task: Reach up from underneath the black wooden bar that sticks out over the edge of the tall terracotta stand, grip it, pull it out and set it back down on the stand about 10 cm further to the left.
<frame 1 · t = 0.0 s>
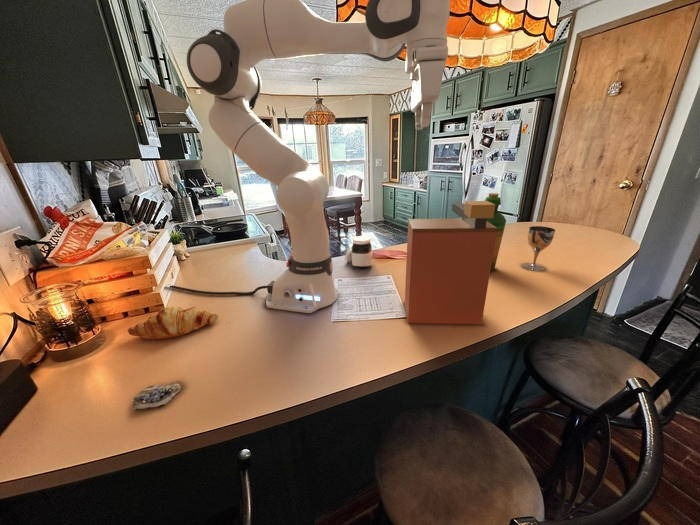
hand: (421, 128, 68), 48 cm above the worktop, tool pointing down, fingers open, 8 cm apart
stand: (440, 313, 78), on the worktop
spread jar: (358, 265, 114), on the worktop
silver goblet: (533, 267, 106), on the worktop
bottle: (482, 268, 106), on the worktop
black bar: (466, 218, 73), point 26 cm above the worktop, touching stand
crystal geode: (158, 396, 55), on the worktop
croissant: (177, 331, 75), on the worktop
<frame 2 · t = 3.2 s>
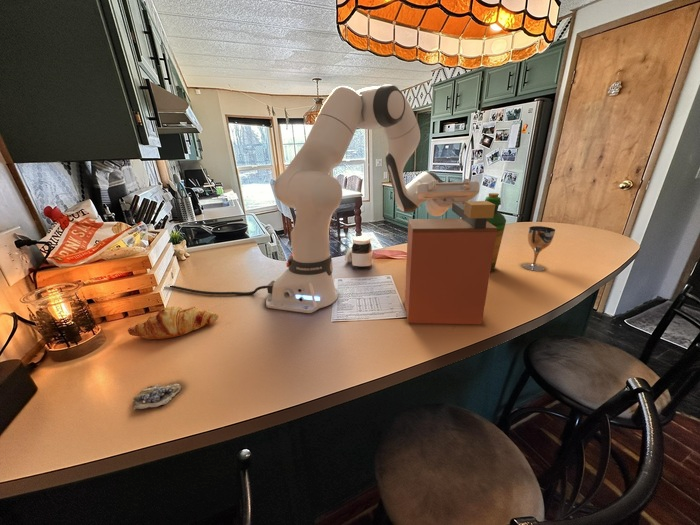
hand: (451, 181, 87), 33 cm above the worktop, tool pointing upward, fingers open, 8 cm apart
nothing on the worktop moved.
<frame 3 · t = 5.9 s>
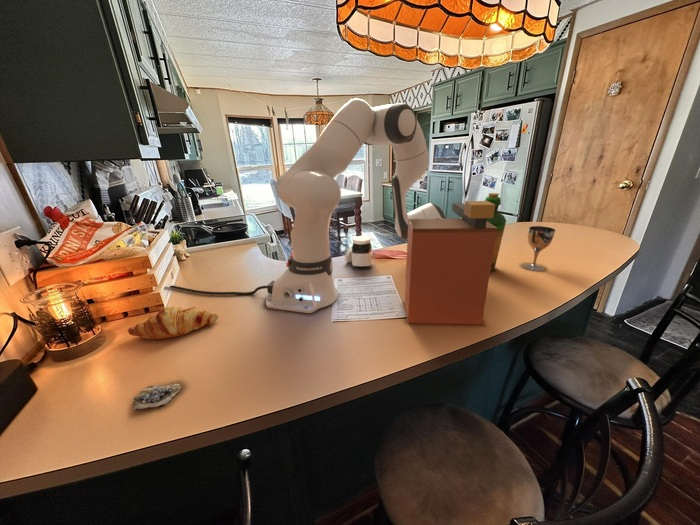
hand: (452, 220, 86), 23 cm above the worktop, tool pointing upward, fingers open, 8 cm apart
nothing on the worktop moved.
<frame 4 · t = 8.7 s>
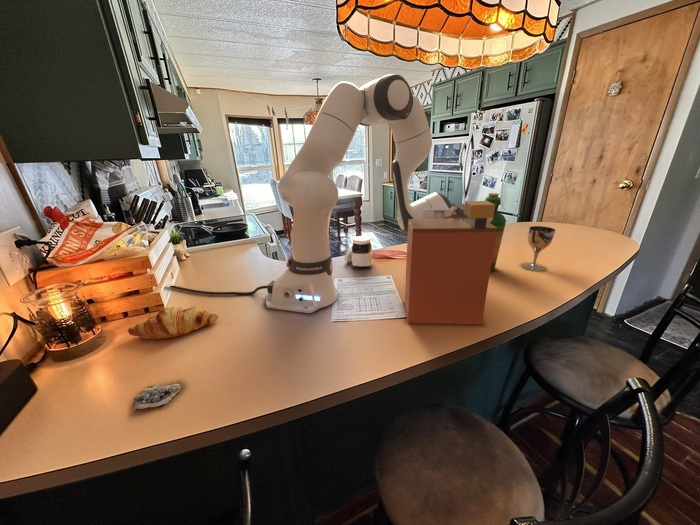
hand: (462, 208, 76), 28 cm above the worktop, tool pointing upward, fingers closed on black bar, 2 cm apart
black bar: (466, 218, 73), point 26 cm above the worktop, touching gripper, stand
everything else where it was.
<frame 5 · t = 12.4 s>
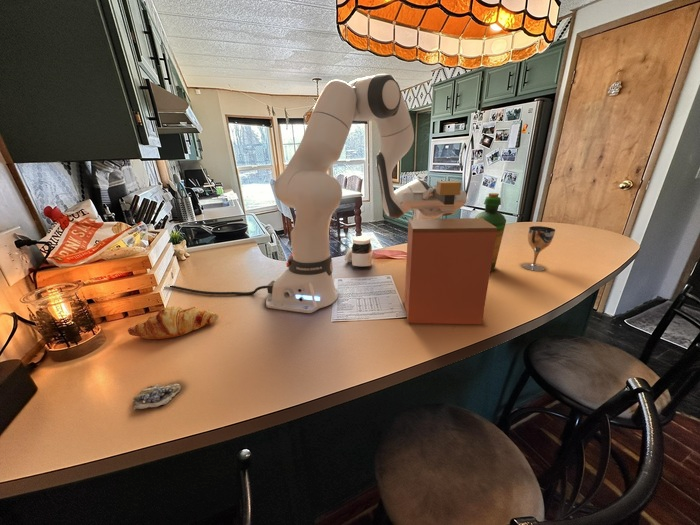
hand: (438, 190, 84), 31 cm above the worktop, tool pointing upward, fingers closed on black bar, 2 cm apart
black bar: (440, 198, 81), point 30 cm above the worktop, touching gripper
everything else where it was.
when the fingers open (28 cm above the worktop, at t = 16.4 s): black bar stays where it is, resting on stand.
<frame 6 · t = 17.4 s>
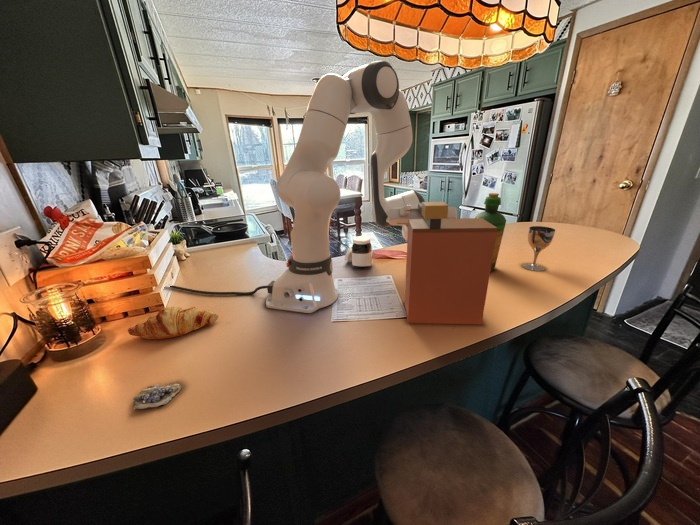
hand: (425, 207, 77), 28 cm above the worktop, tool pointing upward, fingers open, 8 cm apart
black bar: (427, 218, 74), point 26 cm above the worktop, touching stand
everything else where it was.
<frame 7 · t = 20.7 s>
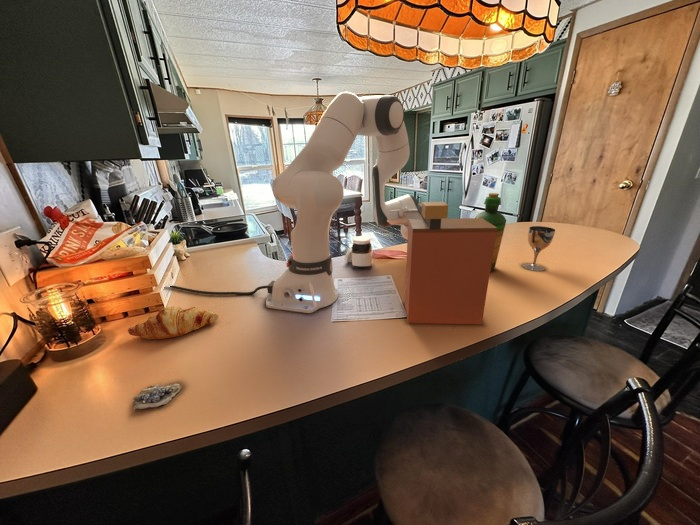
hand: (419, 209, 90), 25 cm above the worktop, tool pointing upward, fingers open, 8 cm apart
nothing on the worktop moved.
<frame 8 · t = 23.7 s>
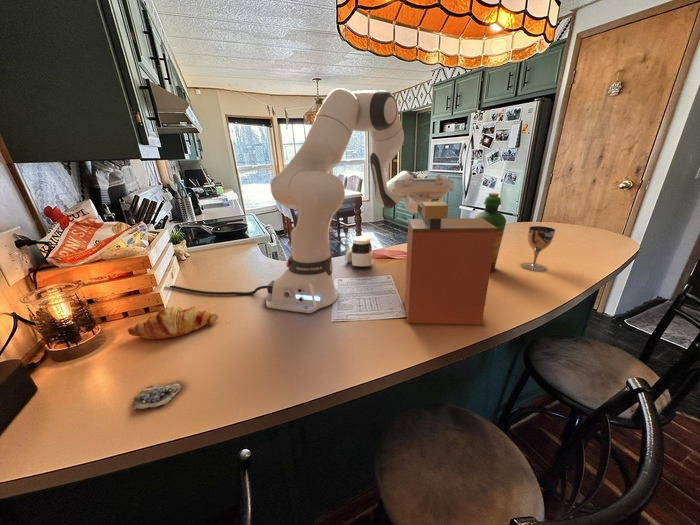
hand: (425, 177, 94), 34 cm above the worktop, tool pointing upward, fingers open, 8 cm apart
nothing on the worktop moved.
at the end: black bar 0.2 cm from the target spot, point 26.0 cm above the worktop; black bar tilted 0°; the gripper is holding nothing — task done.
